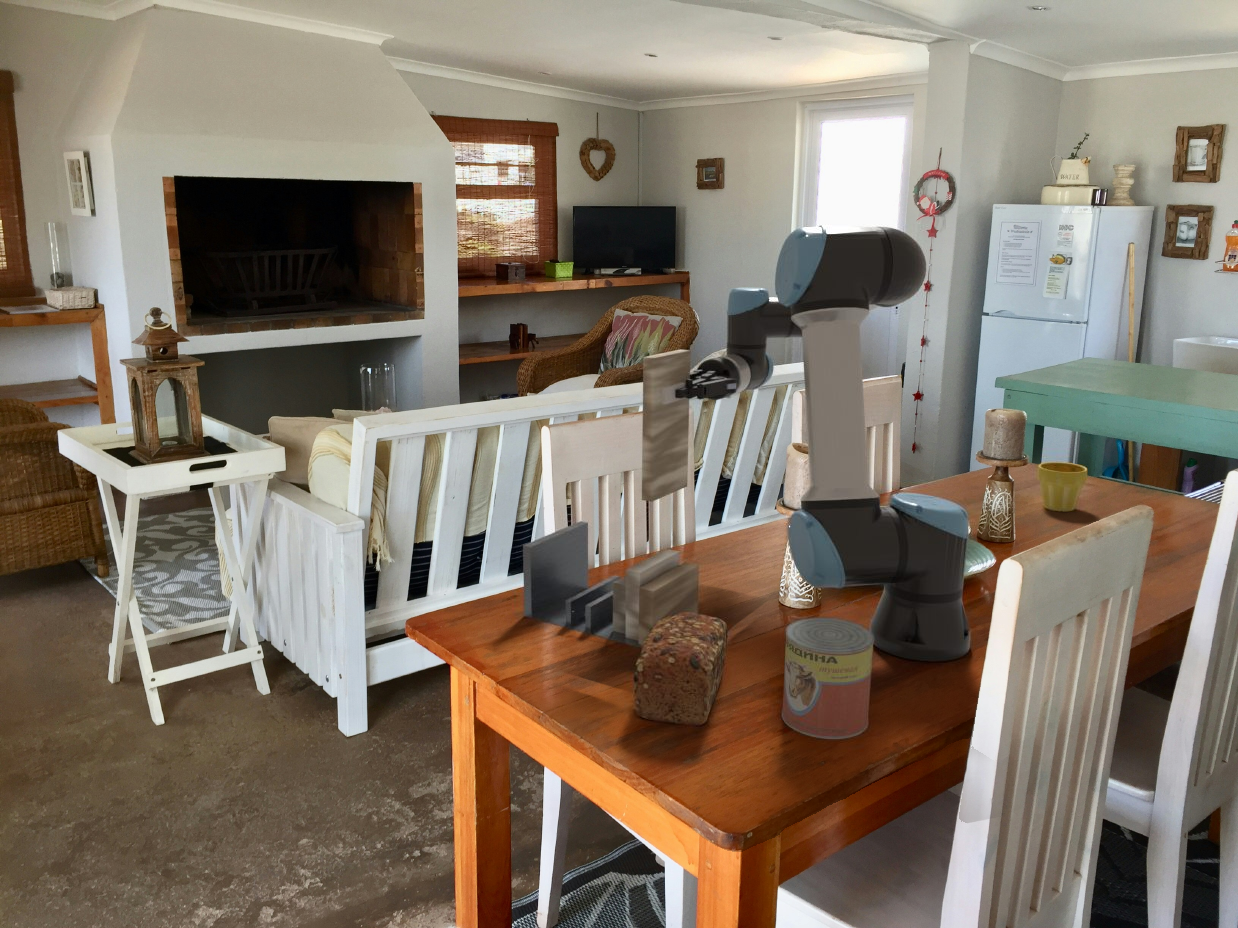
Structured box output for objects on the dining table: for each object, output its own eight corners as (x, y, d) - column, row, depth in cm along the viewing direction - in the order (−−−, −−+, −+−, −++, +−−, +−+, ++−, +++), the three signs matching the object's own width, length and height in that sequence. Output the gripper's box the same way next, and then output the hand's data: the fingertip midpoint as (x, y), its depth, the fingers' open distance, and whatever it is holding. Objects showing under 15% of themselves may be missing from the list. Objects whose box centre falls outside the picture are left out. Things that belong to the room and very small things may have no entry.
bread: (708, 730, 130) (710, 659, 128) (628, 720, 133) (629, 650, 130) (729, 669, 148) (731, 606, 146) (658, 662, 150) (659, 599, 148)
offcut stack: (697, 617, 163) (699, 553, 160) (652, 647, 151) (653, 578, 149) (652, 606, 167) (653, 543, 165) (605, 634, 156) (605, 567, 153)
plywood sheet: (687, 486, 177) (690, 350, 171) (651, 501, 167) (653, 358, 162) (677, 484, 178) (680, 349, 173) (641, 499, 168) (643, 357, 163)
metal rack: (707, 625, 163) (709, 546, 160) (656, 660, 150) (657, 575, 147) (581, 594, 177) (580, 521, 173) (524, 624, 164) (522, 545, 160)
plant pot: (1026, 507, 232) (1030, 466, 230) (1046, 499, 239) (1050, 459, 236) (1071, 517, 224) (1075, 474, 222) (1090, 508, 231) (1095, 467, 229)
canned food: (764, 712, 135) (767, 629, 132) (823, 690, 141) (827, 610, 138) (826, 748, 126) (831, 659, 123) (886, 723, 132) (892, 638, 129)
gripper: (758, 401, 182) (695, 422, 163) (685, 393, 190) (617, 412, 171) (760, 360, 180) (696, 376, 161) (686, 353, 188) (617, 368, 169)
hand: (656, 395), depth 166 cm, fingers closed on plywood sheet, 2 cm apart
